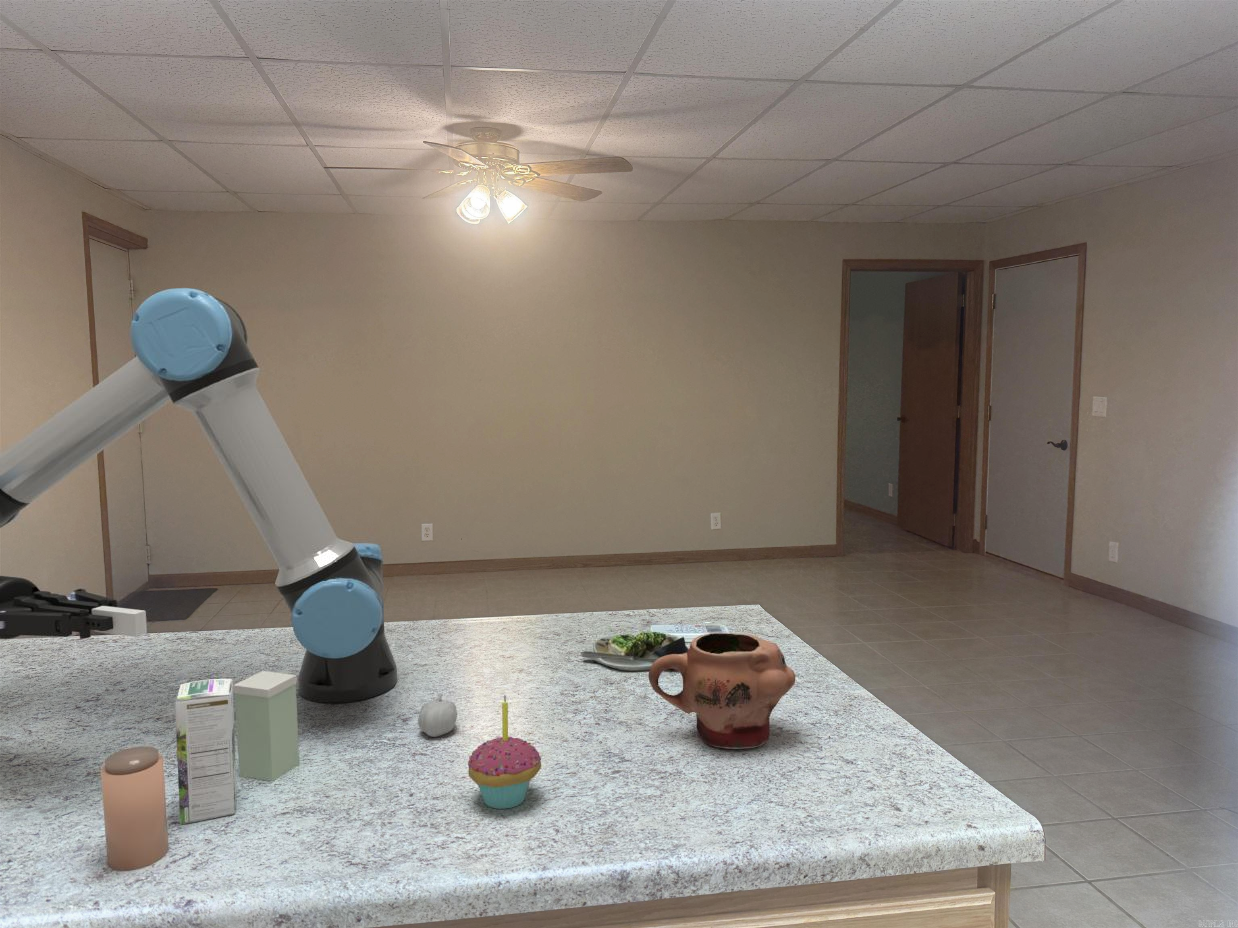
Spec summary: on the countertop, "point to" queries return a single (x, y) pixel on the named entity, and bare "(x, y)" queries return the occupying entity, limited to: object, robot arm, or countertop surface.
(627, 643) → the salad plate
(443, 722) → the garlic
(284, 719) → the tea tin
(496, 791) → the cupcake
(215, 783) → the syrup box
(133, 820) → the canister
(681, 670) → the brown clay mug
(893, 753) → the countertop surface
